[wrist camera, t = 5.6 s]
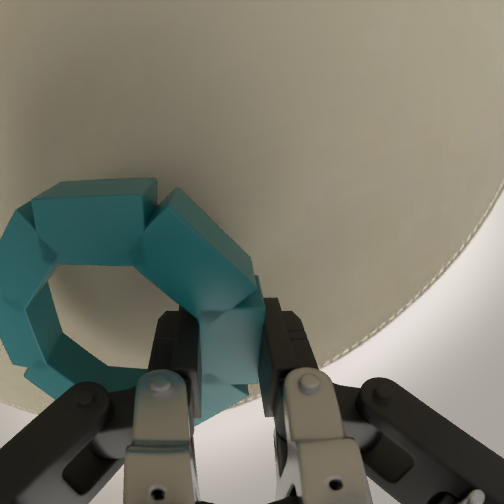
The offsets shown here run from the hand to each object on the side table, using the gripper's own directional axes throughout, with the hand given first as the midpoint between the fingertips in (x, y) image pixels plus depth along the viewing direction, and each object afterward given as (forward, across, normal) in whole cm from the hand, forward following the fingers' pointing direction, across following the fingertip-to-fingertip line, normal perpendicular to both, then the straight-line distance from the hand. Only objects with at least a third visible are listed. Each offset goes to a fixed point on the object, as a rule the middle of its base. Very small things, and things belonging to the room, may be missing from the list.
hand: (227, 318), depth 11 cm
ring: (0, +4, 0) cm, 4 cm away
